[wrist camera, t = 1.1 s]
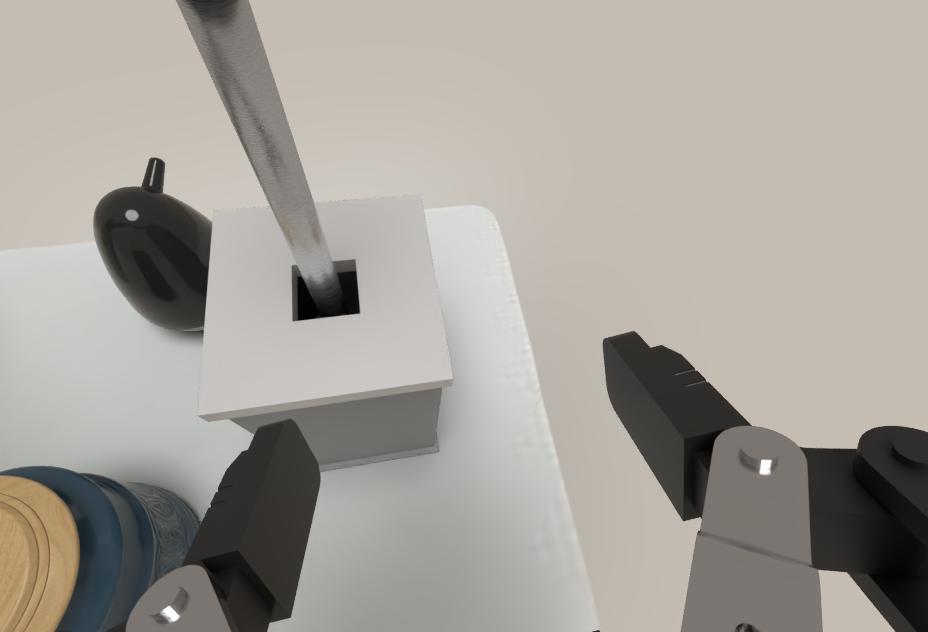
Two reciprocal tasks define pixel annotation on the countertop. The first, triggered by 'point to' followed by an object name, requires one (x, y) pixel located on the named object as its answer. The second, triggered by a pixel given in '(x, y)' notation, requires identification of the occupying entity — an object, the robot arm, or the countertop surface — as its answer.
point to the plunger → (265, 137)
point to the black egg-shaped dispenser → (156, 251)
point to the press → (328, 332)
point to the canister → (83, 547)
